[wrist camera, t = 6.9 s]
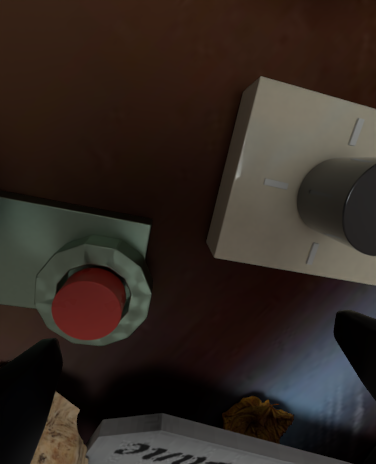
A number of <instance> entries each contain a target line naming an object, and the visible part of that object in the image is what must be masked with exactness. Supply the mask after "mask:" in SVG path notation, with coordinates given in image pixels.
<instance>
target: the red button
mask: <svg viewBox="0 0 376 464" xmlns="http://www.w3.org/2000/svg"><path fill="white" fill-rule="evenodd" d="M125 301H126V291H125V288H124V285H123V284H122V282H121V281H120V279H119V278H118V277H117V276H116V275H114V274H113V273H111V272H110V271H107V270H105V269H101V268H86V269H82V270H79V271H77V272H76V273H74V274H73V275H71V277H70V278H69V279H68V280H67V281H66V282H65V284H64V285H63V286H62V287H61V289H60V290H59V291H58V292H57V294H56V295H55V297H54V299H53V302H52V307H51V311H52V317H53V319H54V322H55V323H56V325H57V326H58V327H59V329H60V330H62V331H63V332H64V333H65V334H67V335H69V336H71V337H73V338H76V339H80V340H96V339H100V338H103V337H105V336H107V335H108V334H110V333H111V332H112V331H113V330H114V329H115V328H116V327H117V326H118V324H119V322H120V320H121V316H122V312H123V308H124V305H125Z"/></svg>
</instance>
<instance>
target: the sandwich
mask: <svg viewBox="0 0 376 464" xmlns="http://www.w3.org/2000/svg"><path fill="white" fill-rule="evenodd" d="M79 411H80V409H78V408H77V407H76V406H74V405H73V404H72V403H70V402H69V401H68V400H66V399H65V398H64V397H63V396H61V395H60V394H59V393H57V392H55V395H54V399H53V402H52V406H51V409H50V413H49V416H48V419H47V422H46V425H45V428H44V430H43V433H42V436H41V438H40V441H39V443H38V446H37V448H36V451H35V454H34V456H33V459H32V461H31V464H88V459H87V458H86V457H85V456H86V452H87V447H86V445H84V444H83V440H82V439H81V437H80V435H79V434H78V430H77V422H76V421H77V415H78V413H79Z"/></svg>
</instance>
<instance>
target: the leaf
mask: <svg viewBox="0 0 376 464" xmlns="http://www.w3.org/2000/svg"><path fill="white" fill-rule="evenodd" d="M273 405H279V404H273ZM273 405H271V404H270V403H269V400H266V401H265V402H264V403H262V402H261V400H260V399H259V398H257V397H255V396H250V397H249V398H248V397H247V398H242V400H241V401H240V402H239V403H236V404H234V405H233V406H232V407H231V408H230V409H229V410H228V411H226V412H224V413H222V417H223V429H224V430H228V431H232V432H235V433H239V434H243V435H247V436H251V437H254V438H258V439H262V440H266V441H269V442H273V443H277V444H280V437H281V436H283V434H284V433H286V431H287V429H288V427H289V426H290V425H292V423H293V420H294V414H293V415H292V414H290V413H287V412H284V411H283V410H282V409H280V410H277V409H275V408H274V407H273Z"/></svg>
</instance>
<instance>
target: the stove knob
mask: <svg viewBox="0 0 376 464" xmlns="http://www.w3.org/2000/svg"><path fill="white" fill-rule="evenodd" d="M297 209H298V213H299V215H300V218H301V219H302V221H303V222H304V223H305V225H307V226H308V227H309V228H310V229H312V230H314V231H316V232H318V233H320V234H323V235H325V236H327V237H329V238H331V239H333V240H335V241H337V242H340V243H342V244H344V245H346V246H348V247H350V248H352V249H354V250H357V251H359V252H361V253H363V254H366V255H369V256H376V157H338V158H331V159H328V160H325V161H323V162H321V163H319V164H318V165H316V166H315V167H314V168H313V169H311V170H310V171H309V173H308V174H307V175H306V176H305V178H304V179H303V181H302V183H301V185H300V187H299V190H298V194H297Z"/></svg>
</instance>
